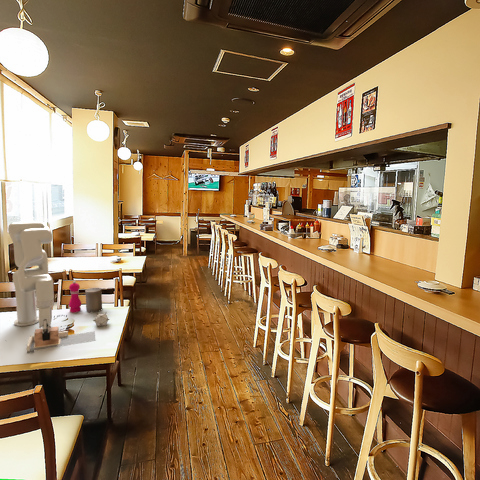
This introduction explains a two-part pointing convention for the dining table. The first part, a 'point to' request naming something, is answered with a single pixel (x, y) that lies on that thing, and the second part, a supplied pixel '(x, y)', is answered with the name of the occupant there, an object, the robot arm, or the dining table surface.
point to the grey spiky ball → (101, 319)
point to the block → (53, 337)
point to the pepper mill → (74, 298)
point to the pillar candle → (93, 299)
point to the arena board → (63, 340)
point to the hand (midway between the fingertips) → (47, 336)
